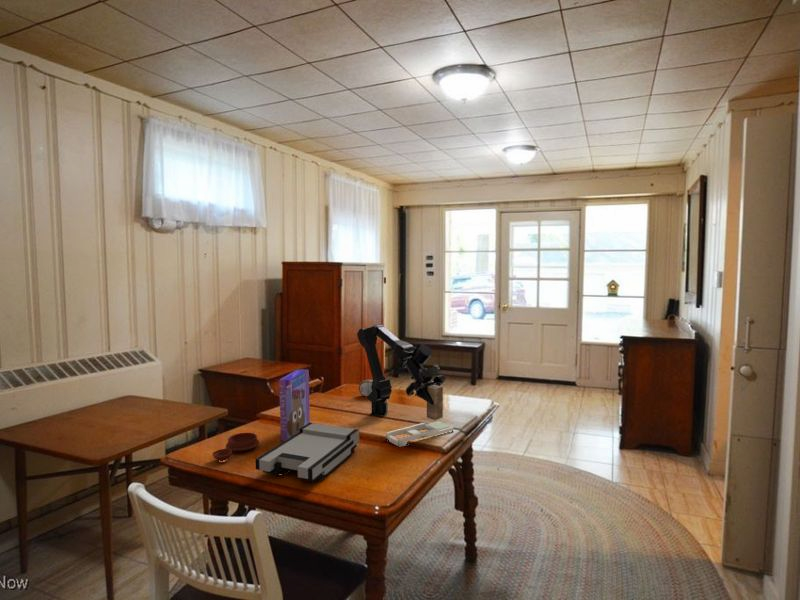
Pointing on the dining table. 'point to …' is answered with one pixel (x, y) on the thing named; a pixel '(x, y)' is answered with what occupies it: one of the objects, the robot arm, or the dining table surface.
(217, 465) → the dining table surface
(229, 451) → the pottery
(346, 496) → the dining table surface
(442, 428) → the box
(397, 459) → the dining table surface
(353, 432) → the game console
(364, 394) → the tin
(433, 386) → the walnut block
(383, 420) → the dining table surface
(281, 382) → the cereal box
